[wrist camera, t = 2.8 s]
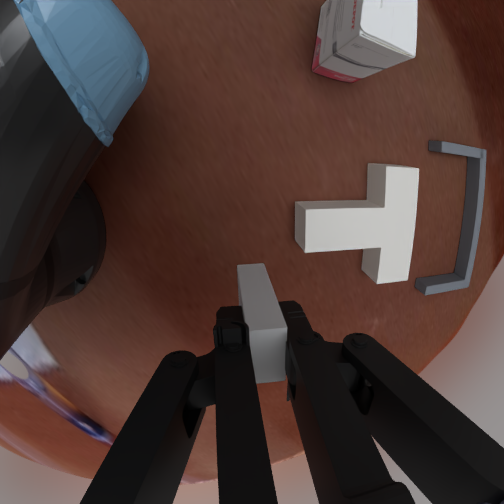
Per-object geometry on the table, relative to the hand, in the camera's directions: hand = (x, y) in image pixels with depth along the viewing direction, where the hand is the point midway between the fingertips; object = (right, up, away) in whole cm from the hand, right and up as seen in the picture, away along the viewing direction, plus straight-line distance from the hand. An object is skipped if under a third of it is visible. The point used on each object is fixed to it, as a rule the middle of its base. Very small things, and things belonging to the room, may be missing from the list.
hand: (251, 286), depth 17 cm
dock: (+25, +6, +15) cm, 30 cm away
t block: (+10, +5, +14) cm, 18 cm away
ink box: (+9, +23, +8) cm, 26 cm away
